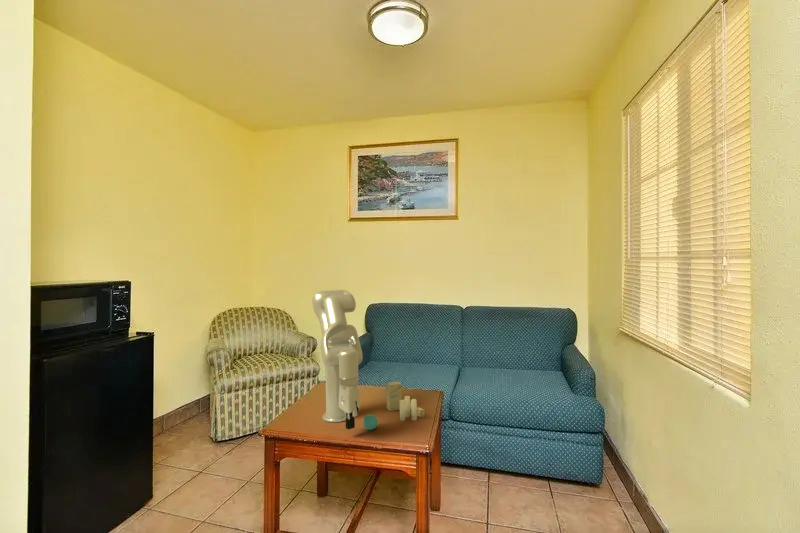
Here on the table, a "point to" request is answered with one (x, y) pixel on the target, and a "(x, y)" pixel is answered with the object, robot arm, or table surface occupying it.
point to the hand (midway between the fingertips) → (350, 428)
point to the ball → (370, 422)
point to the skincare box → (394, 395)
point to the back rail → (419, 411)
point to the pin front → (402, 410)
